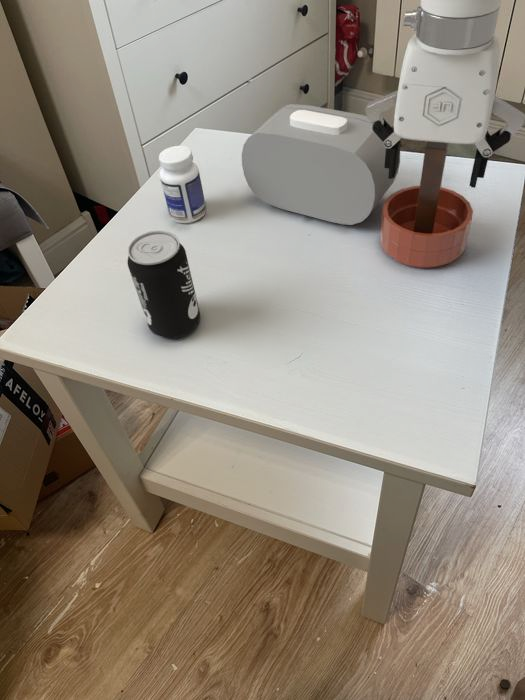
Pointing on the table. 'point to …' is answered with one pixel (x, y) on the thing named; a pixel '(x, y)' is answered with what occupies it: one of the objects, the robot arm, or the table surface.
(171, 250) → the beverage can
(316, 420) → the table surface
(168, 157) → the pill bottle
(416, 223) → the stick
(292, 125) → the alarm clock
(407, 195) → the bowl
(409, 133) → the robot arm
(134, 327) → the table surface
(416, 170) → the table surface
